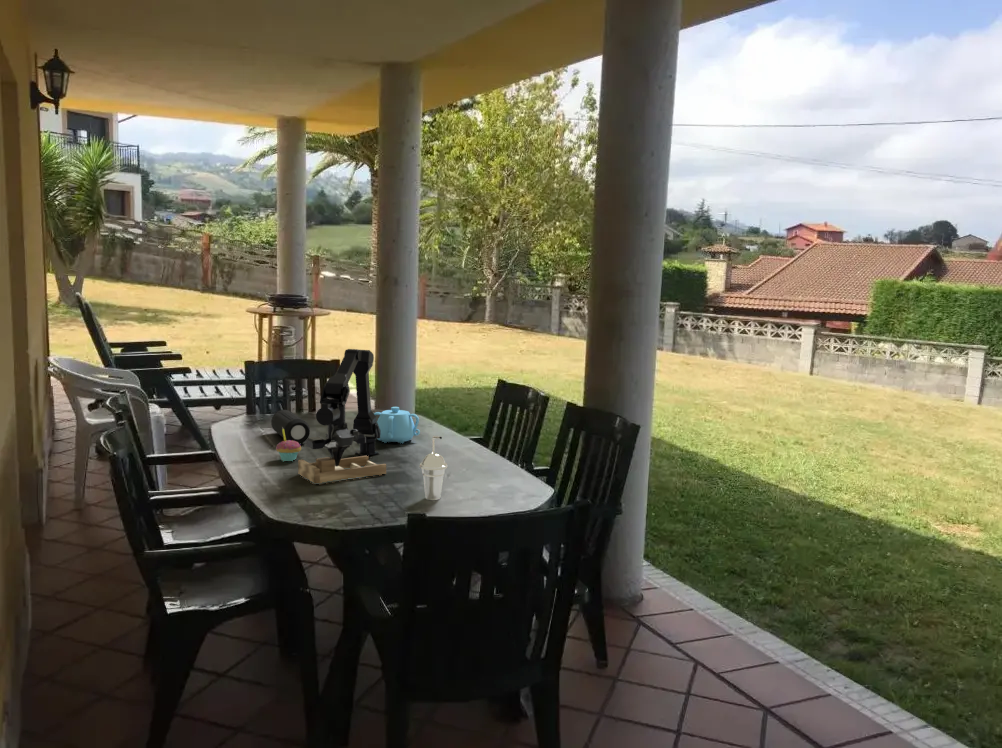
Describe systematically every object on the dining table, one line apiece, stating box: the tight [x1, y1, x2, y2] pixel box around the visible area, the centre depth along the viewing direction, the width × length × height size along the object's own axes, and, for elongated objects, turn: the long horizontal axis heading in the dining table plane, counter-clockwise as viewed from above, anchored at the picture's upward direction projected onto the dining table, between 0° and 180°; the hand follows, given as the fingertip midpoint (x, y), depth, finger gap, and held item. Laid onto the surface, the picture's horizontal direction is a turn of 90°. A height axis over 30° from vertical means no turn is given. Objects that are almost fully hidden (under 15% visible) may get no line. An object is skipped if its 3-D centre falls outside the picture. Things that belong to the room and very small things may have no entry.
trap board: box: [297, 455, 387, 483], centre depth 264 cm, size 14×25×5 cm, turn 126°
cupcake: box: [275, 427, 302, 462], centre depth 280 cm, size 9×8×12 cm
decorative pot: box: [373, 406, 421, 445], centre depth 315 cm, size 16×16×14 cm
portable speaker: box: [270, 409, 311, 444], centre depth 314 cm, size 26×10×10 cm, turn 29°
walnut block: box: [315, 456, 335, 473], centre depth 260 cm, size 4×4×4 cm
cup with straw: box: [418, 435, 448, 501], centre depth 239 cm, size 8×9×20 cm
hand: (336, 466), depth 262 cm, fingers closed
